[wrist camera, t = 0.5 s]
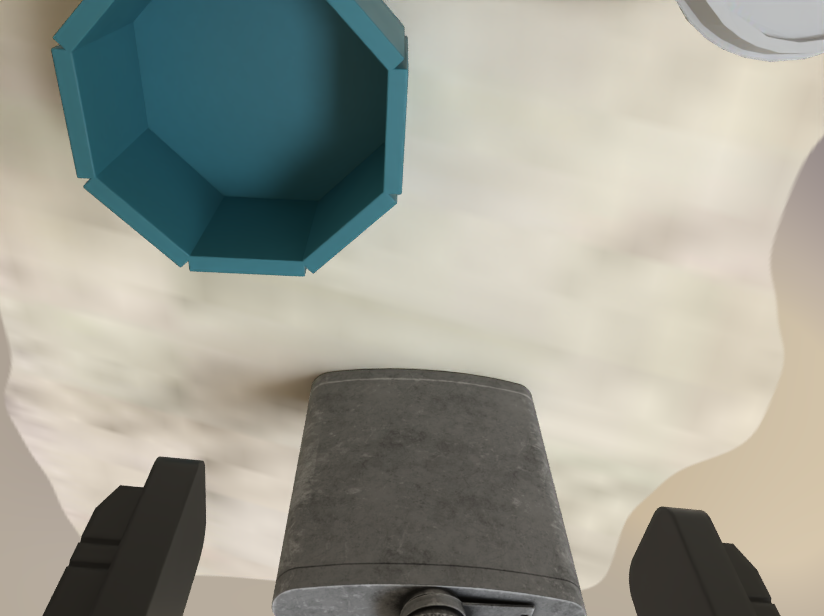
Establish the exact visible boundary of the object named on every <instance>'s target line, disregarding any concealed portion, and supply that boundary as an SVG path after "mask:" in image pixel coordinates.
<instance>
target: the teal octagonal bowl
mask: <svg viewBox="0 0 824 616" xmlns="http://www.w3.org/2000/svg"><path fill="white" fill-rule="evenodd" d="M53 39H54V40H55V41H56V42H58V43H59V44H60V45H58V46H56V47H54V48H52V49H51V52H52V56H53V61H54V66H55V71H56V76H57V81H58V86H59V91H60V96H61V100H62V105H63V110H64V115H65V120H66V125H67V130H68V135H69V139H70V144H71V149H72V154H73V159H74V164H75V169H76V174H77V177H78V178H89V180H88V181H87V182H86V184H85V185H84V186H83V187H84V188H85V189H86V190H87V191H88V192H89V193H91V194H92V195H93V196H94V197H95V198H97V199H98V200H99V201H100V202H102V203H103V204H104V205H105V206H106V207H108V208H109V209H110V210H111V211H112V212H114V213H115V214H116V215H117V216H119V217H120V218H121V219H122V220H123V221H125V222H126V223H127V224H128V225H129V226H131V227H132V228H133V229H134V230H136V231H137V232H138V233H139V234H140V235H142V236H143V237H144V238H145V239H146V240H148V241H149V242H150V243H151V244H153V245H154V246H155V247H156V248H157V249H159V250H160V251H161V252H162V253H163V254H165V255H166V256H167V257H168V258H170V259H171V260H172V261H173V262H174V263H176V264H177V265H178V266H179V267H182V266H183V265H184V264H185V263H186V262H189V270H190V271H197V272H218V273H240V274H261V275H283V276H305V273H306V269H308V270H309V271H311V272H312V273H315V272H316V271H317V270H318V269H319V268H321V267H322V266H323V265H324V264H325V263H327V262H328V261H329V260H330V259H331V258H333V257H334V256H335V255H336V254H337V253H338V252H340V251H341V250H342V249H343V248H344V247H346V246H347V245H348V244H349V243H350V242H352V241H353V240H354V239H355V238H356V237H357V236H359V235H360V234H361V233H362V232H363V231H365V230H366V229H367V228H368V227H369V226H371V225H372V224H373V223H374V222H375V221H377V220H378V219H379V218H380V217H381V216H382V215H384V214H385V213H386V212H387V211H388V210H390V209H391V208H392V207H393V206H394V205H396V204H397V194H399V195H400V194H401V193H402V179H403V161H404V142H405V124H406V105H407V87H408V37H407V36H404V26H403V24H402V23H401V22H400V21H399V20H398V18H397V17H396V16H395V15H394V14H393V13H392V11H391V10H390V9H389V8H388V7H387V5H386V4H385V3H384V2H383V1H382V0H82V2H81V3H80V4H79V5H78V7H77V8H76V9H75V10H74V12H73V13H72V14H71V15H70V17H69V18H68V19H67V20H66V21H65V23H64V24H63V25H62V26H61V28H60V29H59V30H58V31H57V33H56V34H55V35H54V36H53Z"/></svg>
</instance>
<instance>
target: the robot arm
mask: <svg viewBox="0 0 824 616" xmlns="http://www.w3.org/2000/svg"><path fill="white" fill-rule="evenodd" d="M205 528H206V493H205V464H204V461H201V460H191V459H180V458H170V457H158V458H157V459H156V461H155V462H154V465H153V467H152V469H151V471H150V474H149V476H148V478H147V481H146V483H145V485H144V488H143V487H133V486H122V485H120V486H119V487H118V488H117V489H116V490H115V491H114V492H112V493H111V494H110V495H109V496H108V497H107V498H106V499H105V500H104V501H103V502H102V503H101V504H100V505H99V506H97V507H96V508H95V510H94V512H93V514H92V516H91V518H90V520H89V522H88V524H87V526H86V528H85V530H84V532H83V534H82V536H81V541H80V543H78V545H77V547H76V549H75V551H74V553H73V555H72V557H71V559H70V563H69V566H68V567H66V569H65V571H64V573H63V575H62V577H61V579H60V581H59V583H58V585H57V587H56V589H55V591H54V594H53V596H52V597H51V600H50V602H49V604H48V606H47V608H46V610H45V612H44V614H43V616H183V613H184V609H185V606H186V603H187V600H188V596H189V593H190V590H191V586H192V583H193V580H194V576H195V573H196V570H197V566H198V563H199V560H200V556H201V552H202V548H203V542H204V536H205ZM629 584H630V592H631V597H632V600H633V603H634V606H635V610H636V613H637V616H780V614H779V612H778V610H777V608H776V606H775V604H772V603H771V597H770V595H769V593H768V591H767V589H766V587H765V585H764V583H763V581H762V579H761V577H760V575H759V573H758V571H757V569H756V568H755V567H754V566H753V565H752V564H751V563H750V562H749V561H748V560H747V559H746V557H745V556H743V554H742V553H741V552H740V551H739V550H738V549H737V548H736V547H735V545H734V544H729V543H722V542H721V539H720V537H719V535H718V533H717V531H716V529H715V527H714V525H713V523H712V521H711V519H710V517H709V516H708V514H707V513H705V512H704V511H702V510H691V509H681V508H671V507H659V508H658V509H657V510H656V511H655V513H654V515H653V517H652V519H651V521H650V523H649V525H648V527H647V529H646V532H645V534H644V536H643V538H642V540H641V542H640V544H639V546H638V548H637V550H636V552H635V555H634V557H633V559H632V562H631V566H630V572H629Z"/></svg>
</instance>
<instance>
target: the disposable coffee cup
mask: <svg viewBox="0 0 824 616" xmlns="http://www.w3.org/2000/svg"><path fill="white" fill-rule="evenodd" d="M676 2H677V4H678V5H679V7H680V9H681V10H682V12H683V14H684V16H685V17H686V19H687V21H688V22H689V23H690V24H692V25H693V26H694V27H695V28H696V29H697V30H698V31H699V32H700V33H701V34H702V35H703V36H704V37H705V38H706V39H708V40H709V41H711V42H712V43H714V44H715V45H717V46H718V47H720V48H721V49H723V50H726V51H728V52H731V53H734V54H736V55H739V56H742V57H744V58H750V59H756V60H762V61H769V62H773V61H785V60H798V59H806V58H809V57H813V56H816V55H819V54H822V53H824V0H676Z"/></svg>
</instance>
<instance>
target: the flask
mask: <svg viewBox="0 0 824 616" xmlns="http://www.w3.org/2000/svg"><path fill="white" fill-rule="evenodd" d="M272 610H273V613H274V615H275V616H587V614H586V610H585V606H584V602H583V598H582V594H581V590H580V586H579V582H578V578H577V574H576V570H575V566H574V562H573V558H572V554H571V550H570V546H569V542H568V538H567V534H566V530H565V526H564V522H563V518H562V514H561V510H560V506H559V502H558V498H557V494H556V490H555V486H554V483H553V479H552V475H551V471H550V467H549V463H548V459H547V455H546V451H545V447H544V443H543V439H542V435H541V431H540V427H539V423H538V419H537V415H536V411H535V407H534V403H533V399H532V395H531V393H530V391H529V390H528V389H527V388H526V387H524V386H522V385H520V384H516V383H511V382H507V381H503V380H498V379H493V378H488V377H482V376H476V375H469V374H461V373H452V372H442V371H428V370H411V369H367V370H350V371H339V372H329V373H325V374H322V375H320V376H319V377H317V378H316V379H315V380H314V382H313V384H312V388H311V393H310V399H309V404H308V410H307V415H306V421H305V426H304V432H303V437H302V443H301V448H300V453H299V459H298V464H297V470H296V475H295V481H294V486H293V492H292V497H291V503H290V508H289V514H288V519H287V525H286V530H285V536H284V541H283V546H282V552H281V557H280V563H279V568H278V574H277V579H276V585H275V590H274V596H273V601H272Z"/></svg>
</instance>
